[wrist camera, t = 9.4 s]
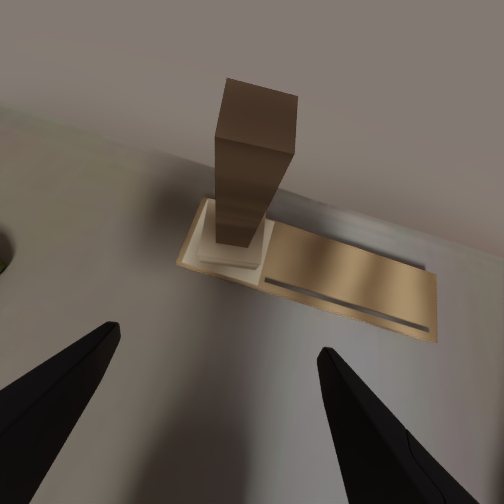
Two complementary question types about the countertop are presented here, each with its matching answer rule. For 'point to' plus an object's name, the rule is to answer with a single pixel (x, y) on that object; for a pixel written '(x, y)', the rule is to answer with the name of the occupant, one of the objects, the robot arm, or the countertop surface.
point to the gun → (1, 266)
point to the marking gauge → (246, 171)
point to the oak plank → (330, 278)
